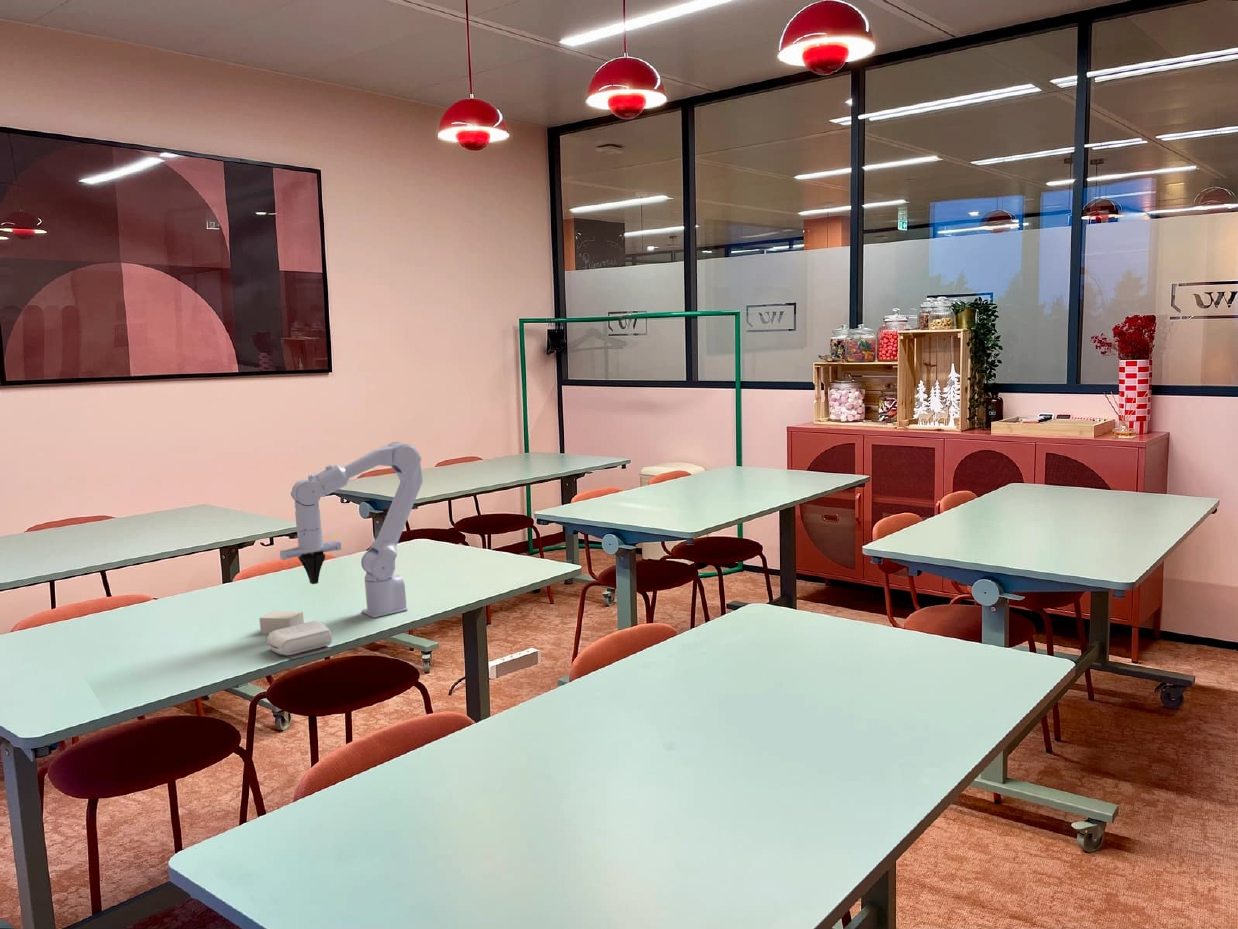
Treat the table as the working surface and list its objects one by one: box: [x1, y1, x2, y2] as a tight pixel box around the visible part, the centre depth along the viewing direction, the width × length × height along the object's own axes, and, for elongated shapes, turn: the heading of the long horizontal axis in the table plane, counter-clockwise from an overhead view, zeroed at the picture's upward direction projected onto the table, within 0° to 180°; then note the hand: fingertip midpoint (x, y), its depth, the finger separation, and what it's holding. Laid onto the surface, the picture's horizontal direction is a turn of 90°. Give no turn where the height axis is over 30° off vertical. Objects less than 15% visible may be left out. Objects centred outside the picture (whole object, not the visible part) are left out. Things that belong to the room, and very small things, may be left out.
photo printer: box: [266, 620, 333, 656], centre depth 208 cm, size 10×4×12 cm
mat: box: [285, 645, 333, 661], centre depth 209 cm, size 9×14×1 cm, turn 38°
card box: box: [259, 610, 305, 634], centre depth 224 cm, size 6×8×4 cm
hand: (314, 583), depth 226 cm, fingers closed
